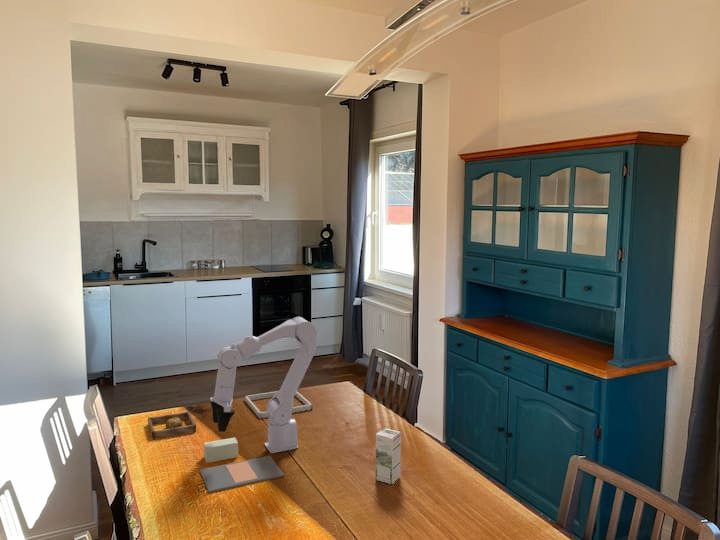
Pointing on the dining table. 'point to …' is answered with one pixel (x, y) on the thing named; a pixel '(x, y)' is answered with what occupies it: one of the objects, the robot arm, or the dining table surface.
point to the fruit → (174, 423)
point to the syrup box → (388, 455)
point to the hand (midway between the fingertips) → (219, 426)
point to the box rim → (271, 394)
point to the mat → (240, 473)
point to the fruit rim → (172, 431)
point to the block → (220, 450)
